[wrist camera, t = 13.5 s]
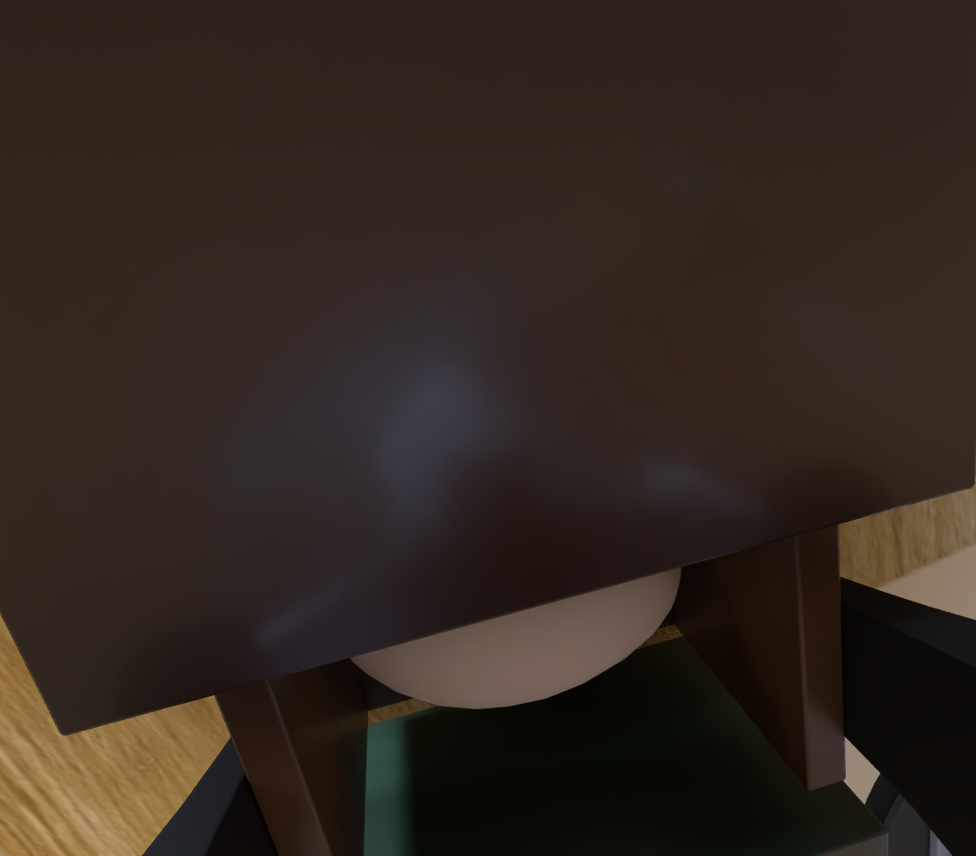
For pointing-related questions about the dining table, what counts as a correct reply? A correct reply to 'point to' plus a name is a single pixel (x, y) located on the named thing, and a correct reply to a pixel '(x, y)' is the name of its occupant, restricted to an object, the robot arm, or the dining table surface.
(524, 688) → the egg
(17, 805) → the dining table surface
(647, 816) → the drawer
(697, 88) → the cabinet
